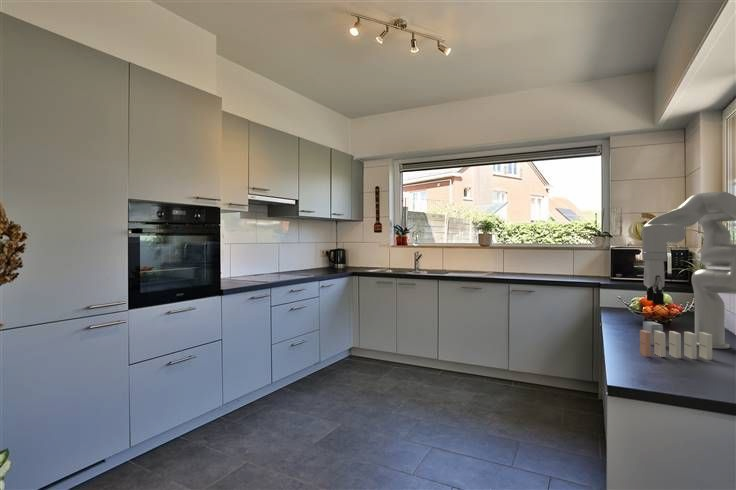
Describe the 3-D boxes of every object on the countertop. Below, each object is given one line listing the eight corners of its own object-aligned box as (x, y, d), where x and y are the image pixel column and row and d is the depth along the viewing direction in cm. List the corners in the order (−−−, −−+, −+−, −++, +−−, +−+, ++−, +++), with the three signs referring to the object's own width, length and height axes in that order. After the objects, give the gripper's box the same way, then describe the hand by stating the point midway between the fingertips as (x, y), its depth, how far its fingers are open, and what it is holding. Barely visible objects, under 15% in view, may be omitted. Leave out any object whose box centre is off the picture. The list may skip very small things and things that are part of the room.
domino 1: (644, 353, 157) (644, 330, 157) (650, 356, 152) (650, 332, 152) (639, 353, 157) (639, 329, 157) (645, 356, 152) (645, 332, 152)
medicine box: (663, 346, 169) (663, 325, 169) (651, 345, 170) (651, 324, 170) (654, 341, 177) (654, 321, 177) (642, 341, 177) (642, 321, 177)
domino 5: (704, 356, 153) (704, 332, 153) (712, 359, 148) (712, 335, 148) (699, 356, 153) (699, 332, 153) (707, 359, 148) (707, 334, 148)
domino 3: (673, 355, 155) (673, 331, 155) (680, 358, 150) (680, 333, 150) (669, 354, 155) (669, 331, 155) (676, 358, 150) (675, 333, 150)
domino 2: (659, 354, 156) (659, 330, 156) (665, 357, 151) (665, 333, 151) (654, 354, 156) (654, 330, 156) (660, 357, 151) (660, 333, 151)
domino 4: (689, 355, 154) (688, 331, 154) (696, 359, 149) (696, 334, 149) (684, 355, 154) (684, 331, 154) (691, 358, 149) (691, 334, 149)
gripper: (637, 256, 163) (638, 299, 163) (647, 257, 148) (648, 305, 148) (660, 256, 160) (661, 300, 160) (673, 257, 145) (673, 306, 145)
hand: (654, 302), depth 154 cm, fingers open, 9 cm apart
